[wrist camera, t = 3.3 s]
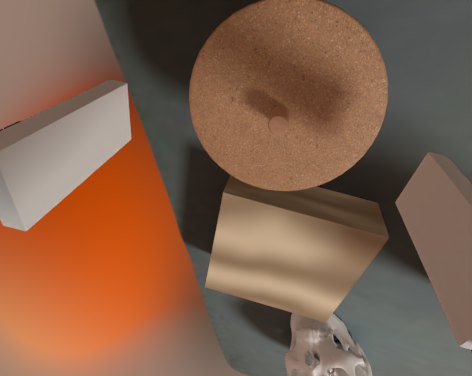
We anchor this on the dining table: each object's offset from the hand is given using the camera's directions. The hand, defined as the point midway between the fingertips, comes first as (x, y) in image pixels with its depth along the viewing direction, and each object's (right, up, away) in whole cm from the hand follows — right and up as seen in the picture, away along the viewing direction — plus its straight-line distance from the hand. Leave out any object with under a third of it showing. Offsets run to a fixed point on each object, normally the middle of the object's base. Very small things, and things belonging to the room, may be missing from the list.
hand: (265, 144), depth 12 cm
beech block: (+4, -7, +19) cm, 20 cm away
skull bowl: (+12, -23, +28) cm, 38 cm away
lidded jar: (+3, +7, +9) cm, 12 cm away
